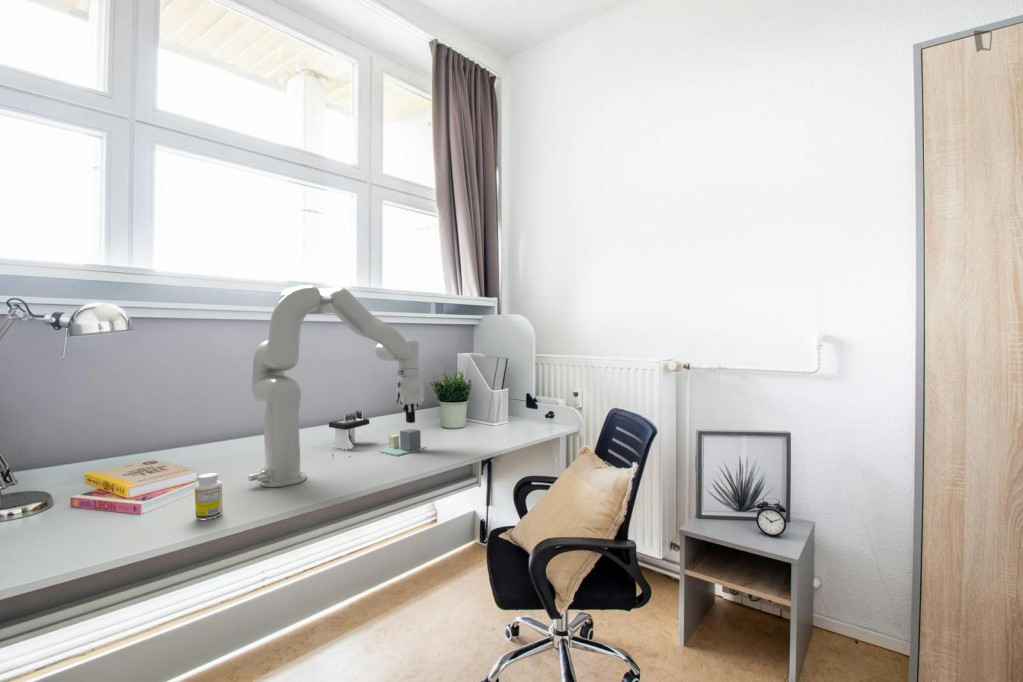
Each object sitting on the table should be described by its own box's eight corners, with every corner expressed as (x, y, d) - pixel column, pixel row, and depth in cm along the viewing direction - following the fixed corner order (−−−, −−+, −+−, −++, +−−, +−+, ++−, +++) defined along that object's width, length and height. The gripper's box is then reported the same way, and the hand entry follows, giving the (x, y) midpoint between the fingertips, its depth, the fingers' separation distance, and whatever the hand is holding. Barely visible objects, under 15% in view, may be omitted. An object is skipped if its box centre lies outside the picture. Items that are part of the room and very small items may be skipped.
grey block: (409, 450, 175) (409, 432, 175) (400, 448, 179) (400, 431, 179) (420, 447, 180) (420, 430, 179) (411, 446, 183) (410, 428, 183)
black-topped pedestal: (341, 459, 169) (340, 421, 169) (298, 450, 184) (297, 415, 184) (401, 443, 192) (401, 410, 192) (359, 436, 207) (359, 405, 207)
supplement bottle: (205, 512, 120) (204, 471, 120) (227, 512, 120) (226, 471, 120) (190, 521, 115) (188, 478, 114) (213, 521, 115) (212, 478, 114)
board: (397, 456, 172) (396, 441, 172) (378, 452, 178) (378, 438, 178) (426, 448, 183) (426, 434, 183) (408, 444, 189) (408, 431, 189)
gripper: (399, 375, 170) (401, 427, 171) (431, 371, 182) (432, 420, 183) (386, 374, 175) (387, 424, 175) (417, 370, 187) (419, 418, 187)
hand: (410, 422), depth 179 cm, fingers closed
